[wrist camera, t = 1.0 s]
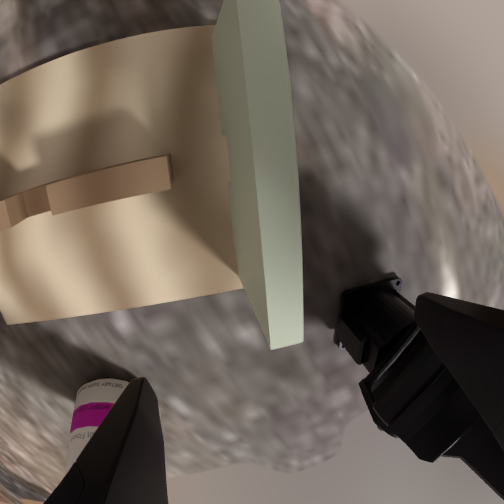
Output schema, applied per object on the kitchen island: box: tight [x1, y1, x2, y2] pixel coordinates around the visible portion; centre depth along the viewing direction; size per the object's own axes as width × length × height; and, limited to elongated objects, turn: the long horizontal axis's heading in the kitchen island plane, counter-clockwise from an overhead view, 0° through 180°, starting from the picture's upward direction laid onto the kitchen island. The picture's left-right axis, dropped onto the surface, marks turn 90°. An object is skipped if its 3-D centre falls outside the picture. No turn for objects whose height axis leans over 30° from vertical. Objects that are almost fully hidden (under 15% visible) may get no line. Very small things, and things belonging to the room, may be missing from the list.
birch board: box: [0, 25, 243, 325], centre depth 16 cm, size 24×18×1 cm
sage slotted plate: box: [212, 0, 303, 350], centre depth 14 cm, size 16×2×8 cm, turn 6°
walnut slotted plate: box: [0, 154, 174, 231], centre depth 14 cm, size 16×2×4 cm, turn 96°
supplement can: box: [66, 378, 161, 474], centre depth 17 cm, size 8×8×15 cm
